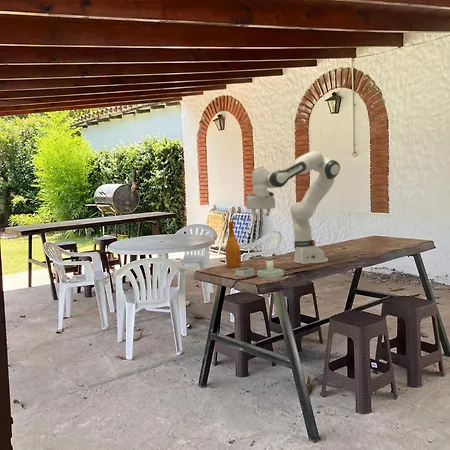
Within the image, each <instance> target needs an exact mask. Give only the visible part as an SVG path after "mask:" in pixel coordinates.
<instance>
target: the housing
mask: <svg viewBox="0 0 450 450" xmlns="http://www.w3.org/2000/svg"><path fill="white" fill-rule="evenodd" d="M237 275H238V277H242V276H243V277H244V278H246V277H250V276H254V275H255V269H254V268H252V267H251V268H250V267H247V266H246V267H241V268H237V269H235V276H237Z"/></svg>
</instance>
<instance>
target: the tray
mask: <svg viewBox="0 0 450 450" xmlns="http://www.w3.org/2000/svg"><path fill="white" fill-rule="evenodd" d="M256 272H257V277H259V278H265V279H273V278H278V277H284V276H285V270H284V269H280V268H274V272H271V273H268V272H267V268H266V269H260V270H257V271H256Z"/></svg>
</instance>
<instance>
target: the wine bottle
mask: <svg viewBox="0 0 450 450" xmlns="http://www.w3.org/2000/svg"><path fill="white" fill-rule="evenodd" d="M227 224H228V229H229V230H228V232H229V233H228V237H227V241H226V243H225V244H226V245H225V248H224V249H225V251H224V252H225V261H226V266H227V267H228V268H239V267H241V265H242V261H241V260H242V257H241V247H240V244H239V242H238V238H237V236H236V235H235V233H234V222H233V221H228V223H227Z"/></svg>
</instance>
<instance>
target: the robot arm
mask: <svg viewBox="0 0 450 450" xmlns="http://www.w3.org/2000/svg"><path fill="white" fill-rule="evenodd" d="M340 170H341V165H340V163H339V162H338V161H337V160H334V159H333V158H330V157H326V156H323V154H322V153H321V152H320V151H319V150H312V151H309V152H306V153H304V154H302V155H300V156H299V157H297V158H296V159H295V160H294V161H293V165H291V166H289V167H287V168H286V169H283V170H275V171H271V170H268V169H267V168H266V167H265V166H262V167H257V168H254V169H253V170H252V172H251V173H252V175H251V178H252V179H251V182H252V193H249V194H247V196H246V204H245V205H246V206H245V208H246V209H247V210H251V212H252V215H253V217H254V218H256V217H258V213H256V210H266V213H265V217H269V216H270V213H271V210H273V209H275V208H276V199H275V197H274V196H275V193H274V192H272V191H270V190H268V189H277V188H282V187H284V186H285V185H286V184H287V182H288V181H289V180H291V179H293V178H294V177H297V176H298V175H303V174H307V173H309V172H310V171H315V172H317V173H319V174H318V177H317V178H316V179H315V180H314V182H313V183H312V184H311V185H310V186H309V188H308V189H307V190H306V191H305V194H304V196H303V197H302V199H301V201H298V202H297V201H296V202H294V203H293V204H292V205H291V206H290V211H289V212H290V215H291V220H292V226H293V232H294V233H293V234H294V240H293V241H294V242H293V246H294V247H293V248H294V258H293V263H295V264H302V265H304V264H306V265H308V264H319V263H327V262H329V258H328V257H326V256H325V253H324V252H325V251H324V250H322V249H321V248H320V247H318V246H317V245H316V241H315V240H314V239H312V227H311V224H310V220H309V219H311V218H312V217H313V215H314V212H315V210H317V207H318V205H319V204H320V202H321V201H322V200H323V198H324V197H325V196H326V194H328V192H329V191H330V190H331V188H332V186H333V184H334V182H335V178H336V177H337V176H338V174H339V172H340Z"/></svg>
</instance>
